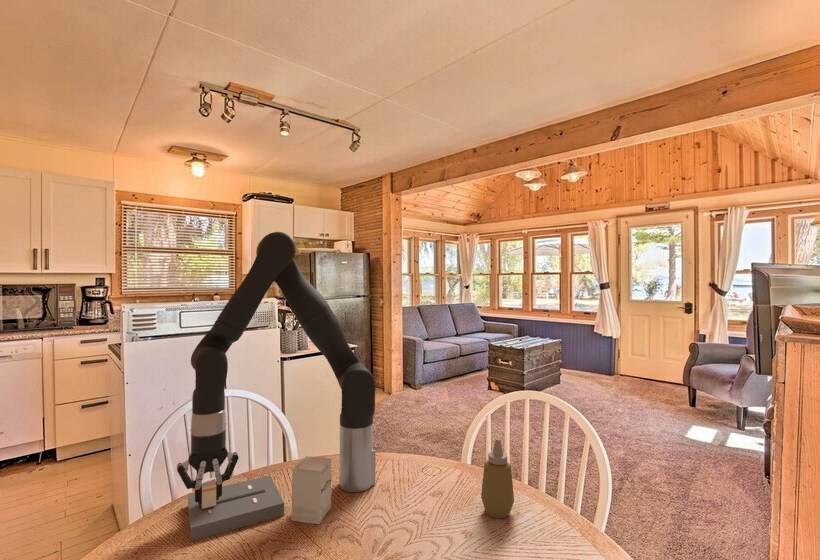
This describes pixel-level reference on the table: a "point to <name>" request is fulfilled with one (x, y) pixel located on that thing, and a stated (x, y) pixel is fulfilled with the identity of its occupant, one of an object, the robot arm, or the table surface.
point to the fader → (208, 492)
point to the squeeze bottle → (497, 483)
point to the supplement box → (311, 489)
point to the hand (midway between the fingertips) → (208, 500)
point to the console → (236, 508)
